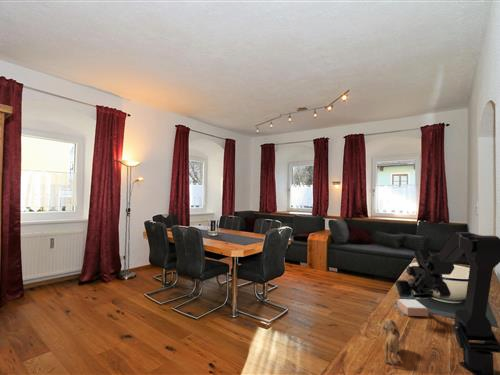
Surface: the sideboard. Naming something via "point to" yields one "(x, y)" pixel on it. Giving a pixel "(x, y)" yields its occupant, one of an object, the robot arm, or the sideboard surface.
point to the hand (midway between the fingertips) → (415, 298)
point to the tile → (412, 307)
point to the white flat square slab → (400, 310)
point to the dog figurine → (391, 340)
